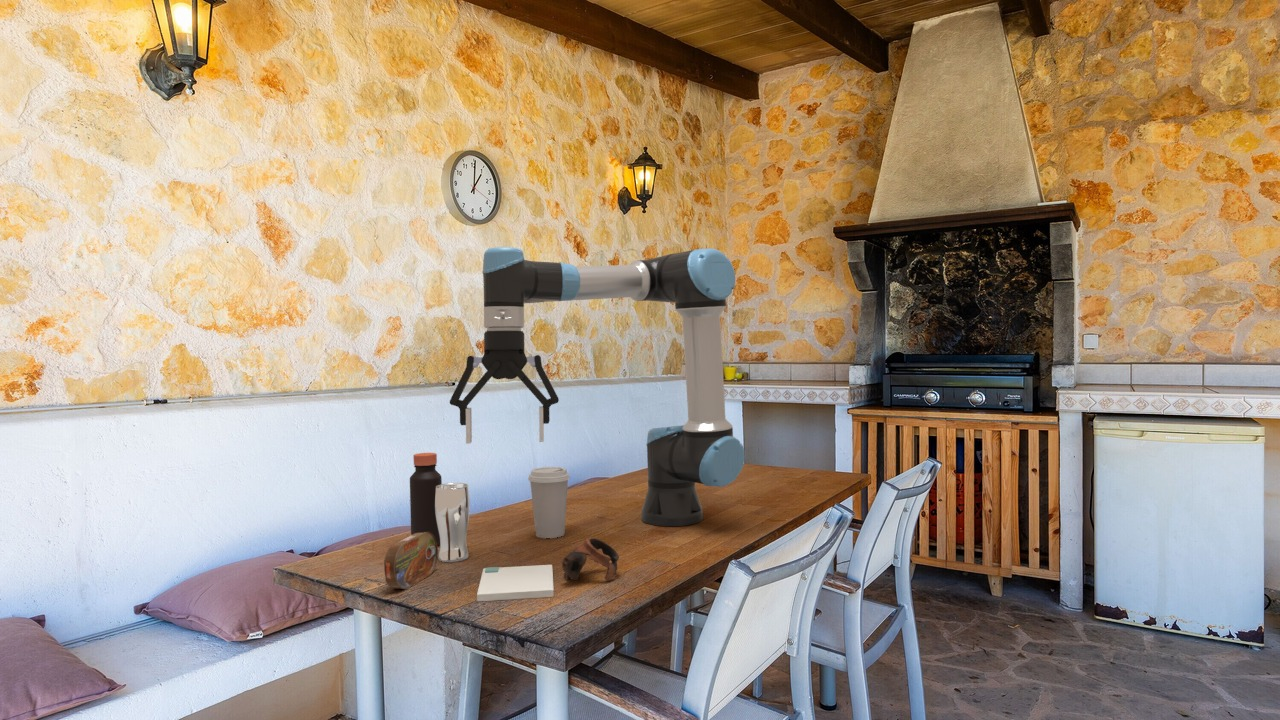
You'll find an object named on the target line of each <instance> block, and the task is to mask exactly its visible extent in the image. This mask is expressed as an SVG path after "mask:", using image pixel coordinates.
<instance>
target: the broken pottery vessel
mask: <svg viewBox="0 0 1280 720" xmlns="http://www.w3.org/2000/svg"><path fill="white" fill-rule="evenodd" d="M600 550H601V551H600ZM587 556H589V557H588V558H587ZM587 559H589V560H592V561H593V562H594V563H597V564H600V565H601V566H602V567H605V568H607V570H606V574H605V577H604V579H605V581H606V582H611V581H612V579H613V578H614V575H616V573H617V571H618V561H619V559H620V555H619V554H618V552H617V551H616V550H615V549H614V548H613V547H612V546H611V545H609V544H608V543H607V542H604V541H603V540H600V539H597V538H595V537H587V538H585V541H584V542H582V543H579V544H577V545H576V546H575V547H573V549H572V550H571V551H569V552H568V553H567V554H566V555H564V557H563V558H562V562H561V566H562V570H563V572H564V574H563V577H564V579H565V580H566V581H567V580H568V581H569V580H579V577H580V574H581V571H582V570H583V567H584V566H585V564H586V562H587Z"/></svg>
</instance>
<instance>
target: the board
mask: <svg viewBox="0 0 1280 720" xmlns="http://www.w3.org/2000/svg"><path fill="white" fill-rule="evenodd" d="M553 573H554V571H553V565H552V564H542V565H540V564H539V565H522V566H505V567H504V566H503V567H499V566H491V567H484V568H483V569H482V572H481V578H480V581H479V585H478V589H477V593H476V602H491V601H492V602H494V601H507V600H508V601H509V600H522V599H525V600H526V599H538V598H540V599H541V598H542V599H544V598H554V597H555V596H554V595H555V593H554V591H555V590H554V575H553Z"/></svg>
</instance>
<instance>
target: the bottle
mask: <svg viewBox="0 0 1280 720" xmlns="http://www.w3.org/2000/svg"><path fill="white" fill-rule="evenodd" d="M412 457H413V467H414V469H415V470H414V472H413V473H412V475H410V477H409V502H410V503H409V506H410V507H409V508H410V536H411V535H413V534H415V533H424V532H430V533H431V534H433V536H434V537H435V539H436V542H437V547H440V537H439V532H438V527H437V522H436V516H435V490H436V488H435V487H436V486H437V485H441V484H443V481H442V480H443V479H442V475H441V474H440V473H439V472H438V471H437V470H436V467H437V466H438V465H437V463H438V459H437V458H438V454H437V453H435V452H421V453H420V452H419V453H415V454H413V456H412Z"/></svg>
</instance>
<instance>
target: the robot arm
mask: <svg viewBox="0 0 1280 720" xmlns="http://www.w3.org/2000/svg"><path fill="white" fill-rule="evenodd" d="M482 261H483V263H482V277H483V278H482V279H483V281H482V282H483V327H484V329H486V331H485V332H484V333H483V347H484V348H483V350H484V351H483V355H482V357H478V356H474V355H469V356H467V357H466V366H465V370H464V371H463V373H462V375H461V377H460V379H459V380H458V381H459V382H458V383H457V384H456V385H457V386H456V388H455V390H454V391H453V393H452V395H451V397H450V400H449V405H451V406H454V407H457V408H458V409H459V423H460V426H465V444H468V445H469V444H471V443H472V442H473V441H472V440H473V439H472V438H473V435H472V433H473V432H472V430H473V429H472V428H473V427H472V423H473V422H472V407H468V405H470V403H471V402H472V401H473V400H474V398H475V397H477V395H478V394H479V392H480V391H481V390H482V389H483V388H484V387H485V385H486V384H487V382H489V380H490V379H492V378H493V379H495V380H503V379H507V380H514V379H516V378H518V379H519V380H520V381H521V383H523V385H525V387H526V388H527V389H528V390H529V392H531V393H532V395H534V397H535V398H536V399H537V400H538V401H539V403H540V404H541V405H542V406H540V405H539V406H538V414H539V415H538V416H539V417H538V420H539V421H538V422H539V424H538V425H539V430H538V432H539V434H538V435H539V439H538V440H539V443H544V441H545V440H544V439H545V438H544V437H545V435H544V433H545V432H544V427H545V426H544V424H545V425H546V424H547V425H548V424H549V423H550V420H551V419H550V408H551V406H552V405H555V404H558V403H559V401H560V400H559V399H560V398H559V396H558V394H557V393H556V391H555V388H554V387H553V385H552V383H551V381H550V380H549V376H548V375H547V373H546V372H545V370H544V366H543V364H542V357H541V355H539V354H536V355H534V356H526V353H525V352H526V351H525V332H524V331H523V330H522V329H524V328H525V304H536V303H550V302H551V303H552V302H553V303H554V302H568V301H584V300H585V301H586V300H603V299H605V300H606V299H621V298H625V299H626V298H630V299H631V300H633V301H635V302H644V301H645V302H646V301H647V302H648V301H649V302H662V303H674V306H675V307H674V308H675V311H676V313H678V314H679V315H680V316H681V319H682V329H683V330H682V333H683V348H684V366H685V369H684V370H685V385H686V386H685V387H686V399H687V400H686V403H687V418H688V420H687V422H686V423H685V424H683V425H675V426H665V427H654V428H651V429H649V431H648V433H647V440H646V452H647V453H646V454H647V455H646V456H647V491H646V494H645V498H644V502H643V505H642V508H641V515H640V516H641V521H642V522H643V523H645V524H649V525H652V526H660V527H682V526H689V525H694V524H698V523H700V522H702V521H703V519H704V514H703V513H704V512H703V511H704V510H703V507H702V504H701V501H700V498H699V495H698V492H697V490H696V489H697V488H696V484H699V485H700V484H702V485H704V486H706V487H719V488H720V487H726V486H728V485H730V484H732V483H733V482H734V481H736V479H738V476H739V475H740V474H741V472H742V469H743V467H744V465H745V459H746V458H745V449H744V446H743V444H742V443H741V442H740V440H739V439H738V438H737V437H735V436H734V431H733V429H734V428H733V425H732V423H731V422H729V421H728V420H727V418H726V406H725V405H726V403H725V385H724V384H725V383H724V367H723V366H724V365H723V348H722V347H723V346H722V345H723V344H722V330H721V329H722V327H721V314H722V313H723V312H724V311H725V310H726V308H727V298H729V296H731V294H732V293H733V290H734V289H735V287H736V286H735V285H736V272H735V269H734V266H733V264H732V262H731V260H730V259H729V258H728V257H727V256H726V254H725V253H724V252H722V251H720V250H718V249H716V248H696V249H692V250H687V251H682V252H681V251H680V252H677V253H671V254H670V253H669V254H665V255H661V256H657V257H655V258H647V259H639V260H632V261H631V262H630V263H629V264H620V265H618V264H616V265H615V264H614V265H613V264H611V265H585V266H583V265H582V266H579V265H577V266H575V265H574V264H572V263H565V262H562V261H559V262H554V261H553V262H552V261H534V260H533V261H532V260H528V259H525V256H524V251H523V250H522V249H521V248H517V247H511V246H497V247H496V246H495V247H490V248H487V249H486V250H485V251H484V253H483V260H482ZM527 363H528V364H530V366H531V367H532V368H535V370H536V372H537V374H538V376H539V378H540V380H541V382H542V383H543V386H544V387H545V390H546V392H547V393H548V396H549V397H550V398H546V396H545V395H544V394H543V393H542V391H540V389H539V388H538V387H537V386H536V385H535V383H534V382H532V380H531V378H529V377H528V375H527V374H526V373H525V372H524V371H523V369H524V367H525V366H526V365H527ZM480 364H482V365H483V367H484V368H485V370H486V371H485V372H484V374H483V375H482V377H481V378H480V379H479V380H478V382H477V383H476V384H475V385H474V386H473V387H472V389H471V390H470V391H469V392H468V393H467V395H466V396H465V397H464V398H463V399H462V400H461V399H460V398H461V396H462V394H463V392H464V390H465V388H466V386H467V384H468V383H469V380H470V378H471V375H472V374H473V372H474V369H475V368H478V367H479V365H480Z"/></svg>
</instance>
